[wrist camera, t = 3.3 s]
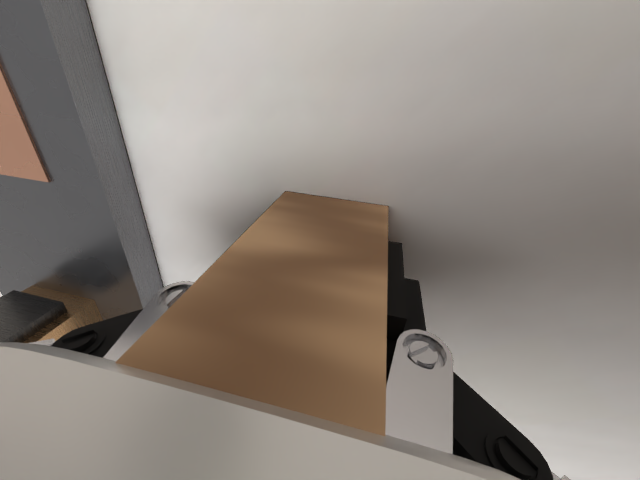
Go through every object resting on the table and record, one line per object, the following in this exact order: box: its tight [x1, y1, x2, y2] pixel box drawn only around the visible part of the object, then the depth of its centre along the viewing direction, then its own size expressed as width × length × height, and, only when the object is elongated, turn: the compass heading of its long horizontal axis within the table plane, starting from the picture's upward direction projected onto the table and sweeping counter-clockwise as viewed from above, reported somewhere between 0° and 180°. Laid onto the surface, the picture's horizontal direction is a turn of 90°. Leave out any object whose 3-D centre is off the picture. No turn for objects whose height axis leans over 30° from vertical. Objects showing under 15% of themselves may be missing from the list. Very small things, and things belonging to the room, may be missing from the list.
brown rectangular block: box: [115, 191, 389, 436], centre depth 9 cm, size 4×6×8 cm
